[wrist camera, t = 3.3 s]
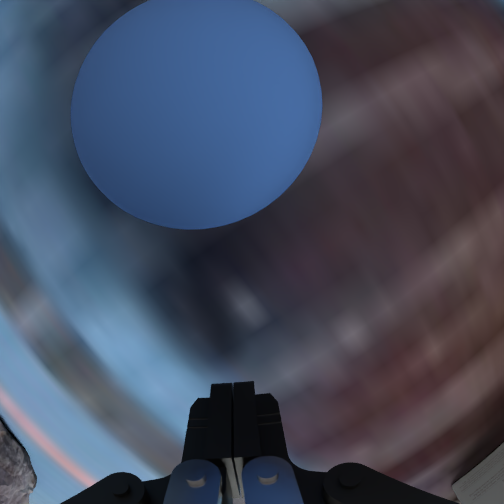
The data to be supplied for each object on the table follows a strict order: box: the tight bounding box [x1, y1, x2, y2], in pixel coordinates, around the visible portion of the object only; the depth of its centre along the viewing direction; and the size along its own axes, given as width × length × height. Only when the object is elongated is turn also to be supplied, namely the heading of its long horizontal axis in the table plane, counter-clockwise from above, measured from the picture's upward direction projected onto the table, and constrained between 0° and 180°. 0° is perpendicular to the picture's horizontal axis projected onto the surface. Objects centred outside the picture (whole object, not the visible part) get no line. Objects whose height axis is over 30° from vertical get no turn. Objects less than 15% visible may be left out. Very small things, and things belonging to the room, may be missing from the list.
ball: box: [71, 0, 322, 230], centre depth 7 cm, size 6×6×6 cm
